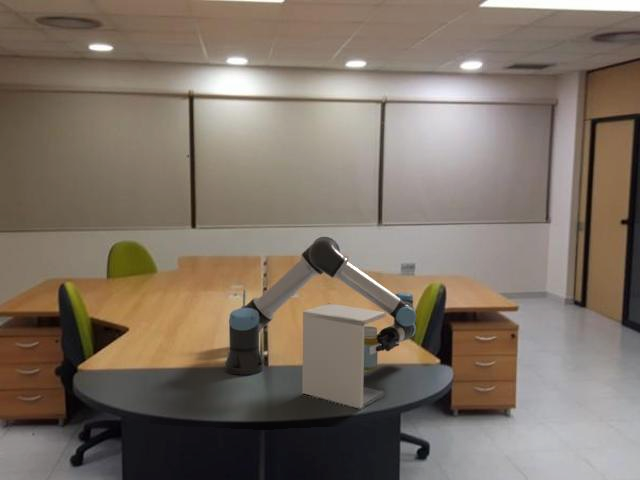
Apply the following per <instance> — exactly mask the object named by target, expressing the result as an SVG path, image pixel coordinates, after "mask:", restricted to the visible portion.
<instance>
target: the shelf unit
mask: <svg viewBox="0 0 640 480" xmlns="http://www.w3.org/2000/svg"><path fill="white" fill-rule="evenodd" d="M386 317H387V312H385V311H378V310H373V309H367V308H360V307H354V306H353V307H352V306H347V305H341V304H335V303H326V304H323V305H320V306H316V307H312V308H310V309H306V310H303V311H302V389H301V390H302V392H301V393H305V394H309V395H314V396H318V397H323V398H326V399H330V400H333V401H337V402H341V403H345V404H349V405H353V406H357V407H360V408H361V407H362V406H364V405H366V404H367V403H369V402H371V401H373V400H374V399H377V398H378V397H380V396H382V395H384V396H385V391H382V390H379V389H375V388H370V387H366V386H364V377H365V376H364V374H365V373H364V371H365V370H364V327H365V325H368V324H370V323H373V322H375V321H378V320H381V319H383V318H386Z"/></svg>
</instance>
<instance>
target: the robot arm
mask: <svg viewBox="0 0 640 480" xmlns="http://www.w3.org/2000/svg"><path fill="white" fill-rule="evenodd" d="M340 249H341V248H340V245H339V244H338V243H337V241H336V240H335V239H333V238H332V237H329V236H320V237H318V238H316V239H315V240H314V241H313V242H312V243H311V245H309V246H308V247H307V248H306V249H305V250H304V251H303V252H302V253H301V257H300V258H301V259H300V260H299V261H298V262H297V263H296V264H295V265H293V267H291V268H290V269H289V270H288V271H287V272H286V273H285V274H283V276H282V277H281V278H280V279H278V280H277V281H276V282H275V283H274V284H273V285H272V286H271V287H270V288H269V289H267V290H266V291H265V292H264V293H263V294H262V295H261V296H260V297H254V298H252V299H251V300H250V301H249V302H248V303H247V304H245V306H244V307H243V308H241V307H240V308H237V309H234V310H232V311H231V312H230V314H229V318H228V324H229V326H228V327H229V350H228V355H227V358H226V361H225V366H224V367H225V368H224V370H225V372H227V373H228V374H231V375H236V374H240V375H239V376H244V375H243V374H250V375H255V374H259V373H261V372H262V371H263V370H264V360H263V358H262V354H261V351H260V332H261V331H262V329H264V327H266V326H267V325H268V324H270V322H271V321H272V320H273V319H274V315H275V314H274V313H275V312H277V310H279V309H280V308H281V307H282V306H283V305H284V304H286V302H287V301H289V299H291V298H292V297H293V296H294V295H295V294H296V293H298V291H300V289H302V288H303V287H304V286H305V285H306V284H307V283H308V282H309V281H310V280H311V279H312V278H314V277H315V276H316V275H317V276H321V275H322V274H323V273H325V274H326V275H327V276H329V277H331V279H335V278H336V279H338V280H339V281H341V282H342V283H343V284H345V285H346V286H348V287H349V288H351V289H352V290H354V291H355V292H356V293H358V294H359V295H361V296H362V297H363V298H365V299H366V300H368V301H369V302H370V303H372V304H374V305H375V306H376V307H378V308H379V309H381V310H382V311H383V312H386V314H388V315H389V316H391V317H392V318H393V324H392V325H389V326H387V327H385V328H382V329H381V330H380V331H379V333H377V340H378V344H376V345H374V346H371V347H370V355H372V354H374V353H376V352H378V353H379V352H381V351H382V352H383V351H386V352H389V351H391V350H392V349H394V348H396V347H399V346H400V343H402V342H405V341H406V340H409V339H411V338H412V337H413V336H415V334H416V332H417V327H416V324H415V322H416V319H417V313H416V310H415V308H414V296H413V295H414V294H412V293H409V292H397V293H395V294H394V293H393V292H391V290H389V289H388V288H386V287H384V285H382V284H380V283H378V282H377V281H376V280H374V279H373V278H372V277H370V276H369V275H367V274H366V273H364V272H363V271H362V270H360V269H359V268H357V267H356V266H354V265H353V264H352V263H350V262H349V261H348V257H346V256H345V255H344V254H342V252H341V251H340ZM258 372H259V373H258Z"/></svg>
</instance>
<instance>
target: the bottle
mask: <svg viewBox="0 0 640 480" xmlns="http://www.w3.org/2000/svg"><path fill="white" fill-rule="evenodd" d="M377 335H378V328H377V327H375V326H368V325H367V326H365V325H364V371H374V370H376V368H377V367H378V353H379V351H378V352H376V353H374V354H372V355H370V347H371V346H374V345H376V344H378V340H377Z"/></svg>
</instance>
